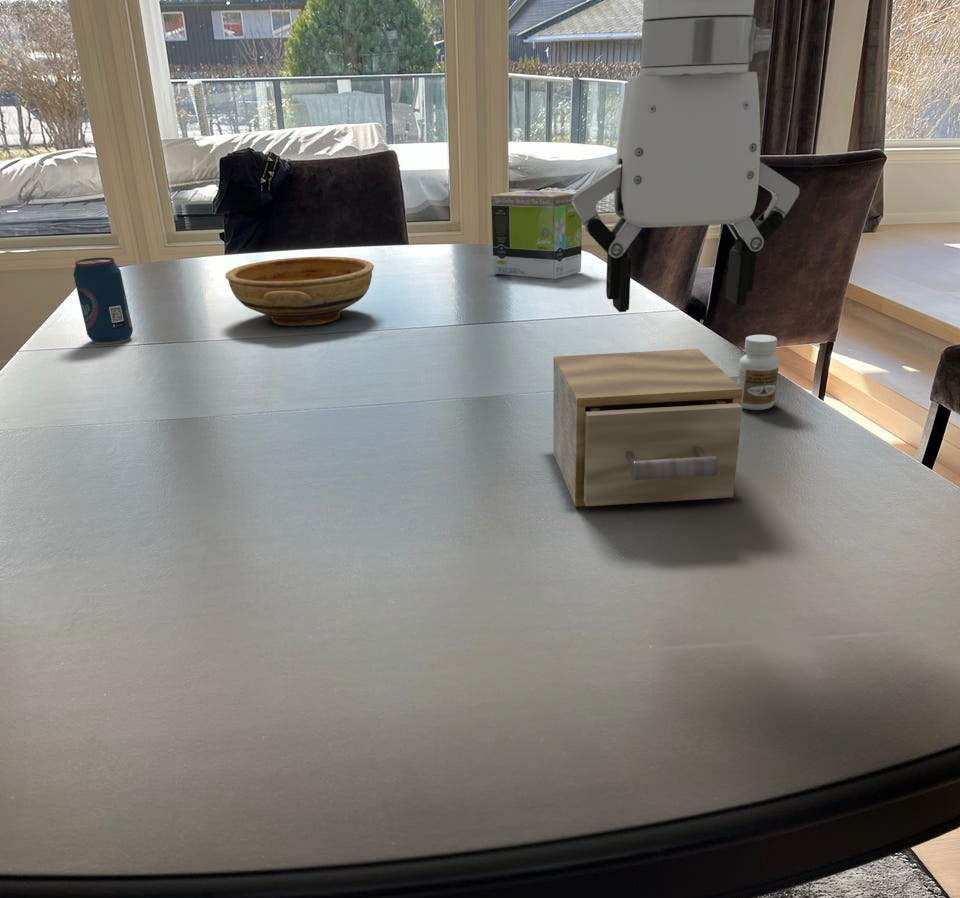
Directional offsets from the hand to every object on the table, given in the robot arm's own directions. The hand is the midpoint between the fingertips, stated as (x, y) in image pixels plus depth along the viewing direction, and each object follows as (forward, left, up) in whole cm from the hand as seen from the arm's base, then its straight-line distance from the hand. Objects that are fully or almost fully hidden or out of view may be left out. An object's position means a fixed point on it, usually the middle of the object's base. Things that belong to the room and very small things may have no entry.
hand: (678, 305), depth 77 cm
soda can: (+69, -83, -18) cm, 110 cm away
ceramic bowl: (+39, -92, -18) cm, 102 cm away
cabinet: (0, -11, -18) cm, 21 cm away
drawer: (0, -6, -17) cm, 18 cm away
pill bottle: (-18, -31, -18) cm, 40 cm away
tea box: (-4, -123, -18) cm, 125 cm away
